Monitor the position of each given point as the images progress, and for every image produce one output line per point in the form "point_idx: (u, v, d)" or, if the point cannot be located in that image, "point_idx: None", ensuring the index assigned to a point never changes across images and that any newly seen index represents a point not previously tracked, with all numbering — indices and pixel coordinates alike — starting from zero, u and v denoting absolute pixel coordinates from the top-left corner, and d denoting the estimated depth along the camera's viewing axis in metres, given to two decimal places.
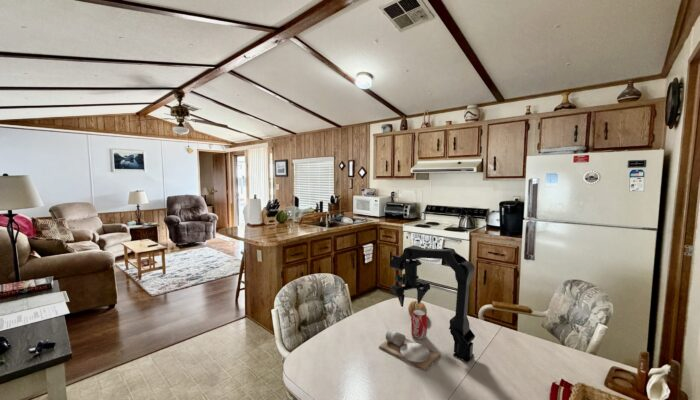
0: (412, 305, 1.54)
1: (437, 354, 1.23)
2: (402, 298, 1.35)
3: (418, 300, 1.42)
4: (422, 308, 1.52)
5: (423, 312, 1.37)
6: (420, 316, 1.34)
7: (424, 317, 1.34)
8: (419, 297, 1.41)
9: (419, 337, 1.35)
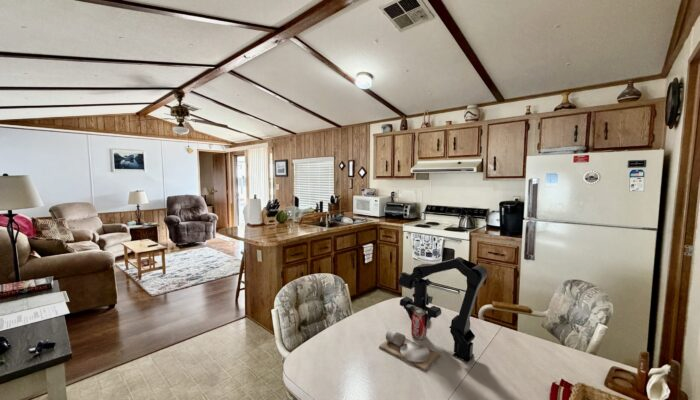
0: None
1: (437, 354, 1.23)
2: (407, 312, 1.39)
3: None
4: None
5: (423, 312, 1.37)
6: (420, 316, 1.34)
7: (424, 317, 1.34)
8: None
9: (419, 337, 1.35)
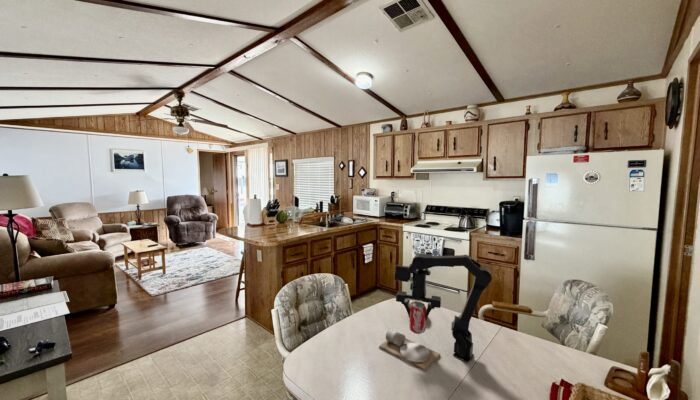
0: None
1: (437, 354, 1.23)
2: (406, 307, 1.28)
3: None
4: None
5: (421, 304, 1.30)
6: (421, 309, 1.26)
7: (425, 309, 1.27)
8: (426, 312, 1.27)
9: (421, 331, 1.27)
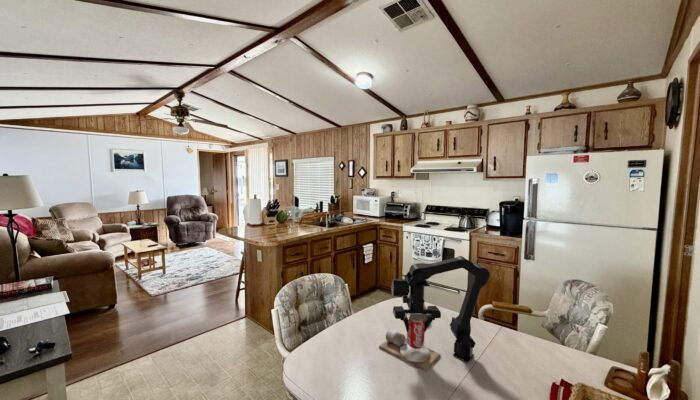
0: None
1: (437, 354, 1.23)
2: (406, 323, 1.20)
3: None
4: None
5: (418, 317, 1.24)
6: (422, 322, 1.20)
7: (423, 321, 1.22)
8: (425, 325, 1.22)
9: (421, 345, 1.21)
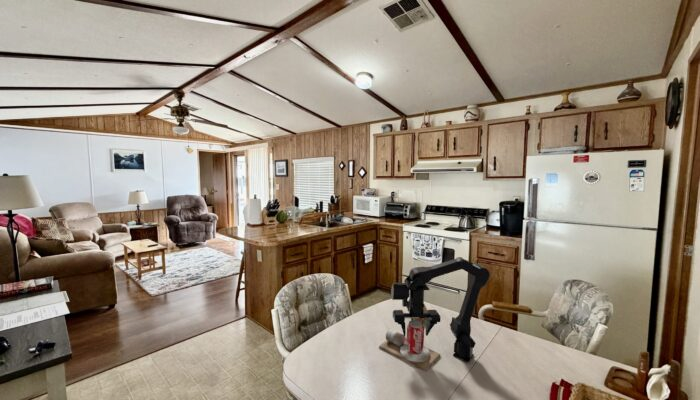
0: None
1: (437, 354, 1.23)
2: (403, 327, 1.20)
3: (426, 332, 1.23)
4: None
5: (417, 322, 1.24)
6: (421, 328, 1.20)
7: (423, 327, 1.22)
8: (427, 328, 1.22)
9: (421, 351, 1.21)
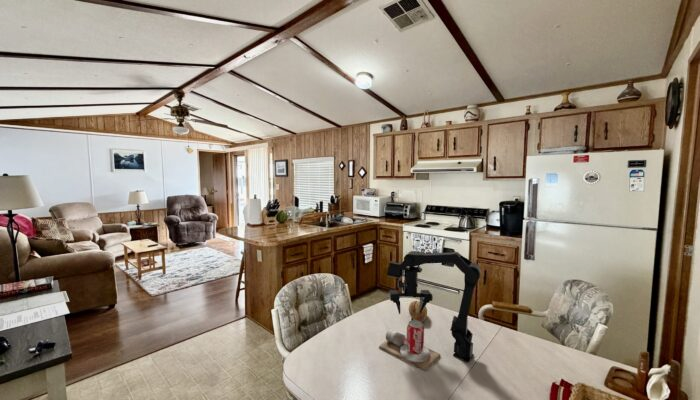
0: (412, 305, 1.54)
1: (437, 354, 1.23)
2: (398, 305, 1.30)
3: (419, 310, 1.33)
4: None
5: (417, 322, 1.24)
6: (421, 328, 1.20)
7: (423, 327, 1.22)
8: (420, 307, 1.32)
9: (421, 351, 1.21)
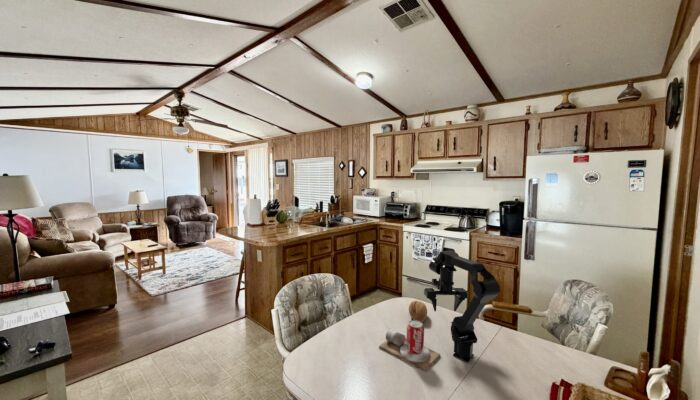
0: (412, 305, 1.54)
1: (437, 354, 1.23)
2: (434, 302, 1.33)
3: (454, 307, 1.36)
4: (422, 308, 1.52)
5: (417, 322, 1.24)
6: (421, 328, 1.20)
7: (423, 327, 1.22)
8: (455, 305, 1.35)
9: (421, 351, 1.21)
